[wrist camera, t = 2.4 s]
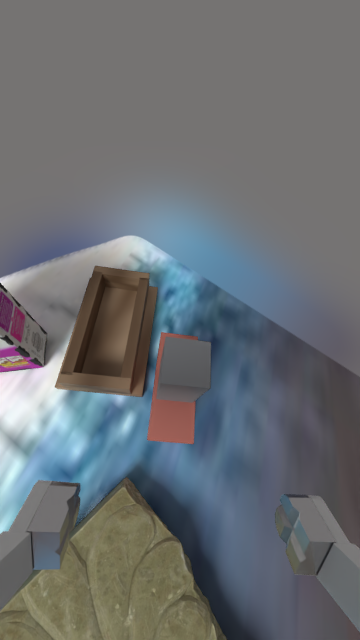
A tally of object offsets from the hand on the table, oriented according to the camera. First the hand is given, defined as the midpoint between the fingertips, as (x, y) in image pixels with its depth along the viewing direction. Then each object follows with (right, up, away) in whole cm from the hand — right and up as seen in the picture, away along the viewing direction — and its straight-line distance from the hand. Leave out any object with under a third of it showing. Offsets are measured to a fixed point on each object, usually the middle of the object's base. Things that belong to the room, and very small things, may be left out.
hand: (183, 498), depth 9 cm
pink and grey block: (-2, -3, +19) cm, 20 cm away
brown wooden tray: (-9, +5, +22) cm, 25 cm away
